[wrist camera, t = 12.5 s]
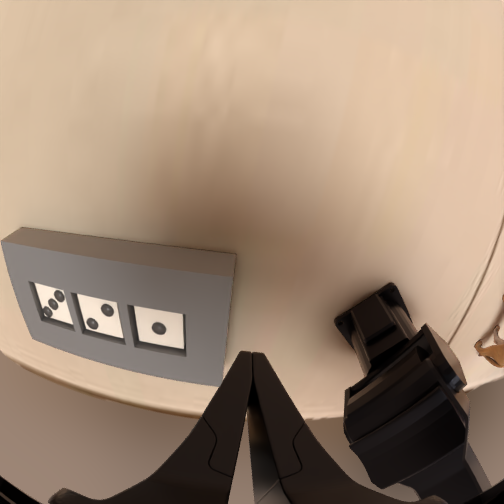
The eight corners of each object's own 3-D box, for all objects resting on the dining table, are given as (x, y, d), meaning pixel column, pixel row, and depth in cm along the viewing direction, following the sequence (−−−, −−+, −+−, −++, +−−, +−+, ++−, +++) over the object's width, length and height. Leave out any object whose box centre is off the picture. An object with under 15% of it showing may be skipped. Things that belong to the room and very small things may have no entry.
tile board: (236, 254, 21) (233, 277, 18) (224, 361, 26) (221, 387, 23) (21, 227, 20) (0, 240, 17) (46, 321, 25) (32, 338, 22)
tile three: (74, 279, 21) (63, 290, 19) (82, 313, 23) (73, 326, 21) (44, 272, 21) (33, 282, 19) (53, 305, 22) (44, 316, 21)
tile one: (187, 299, 22) (182, 314, 20) (187, 334, 23) (183, 350, 21) (141, 291, 21) (132, 305, 20) (145, 327, 23) (138, 342, 21)
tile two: (124, 289, 21) (115, 303, 19) (130, 325, 23) (122, 339, 21) (86, 282, 21) (75, 294, 19) (94, 317, 23) (85, 330, 21)
